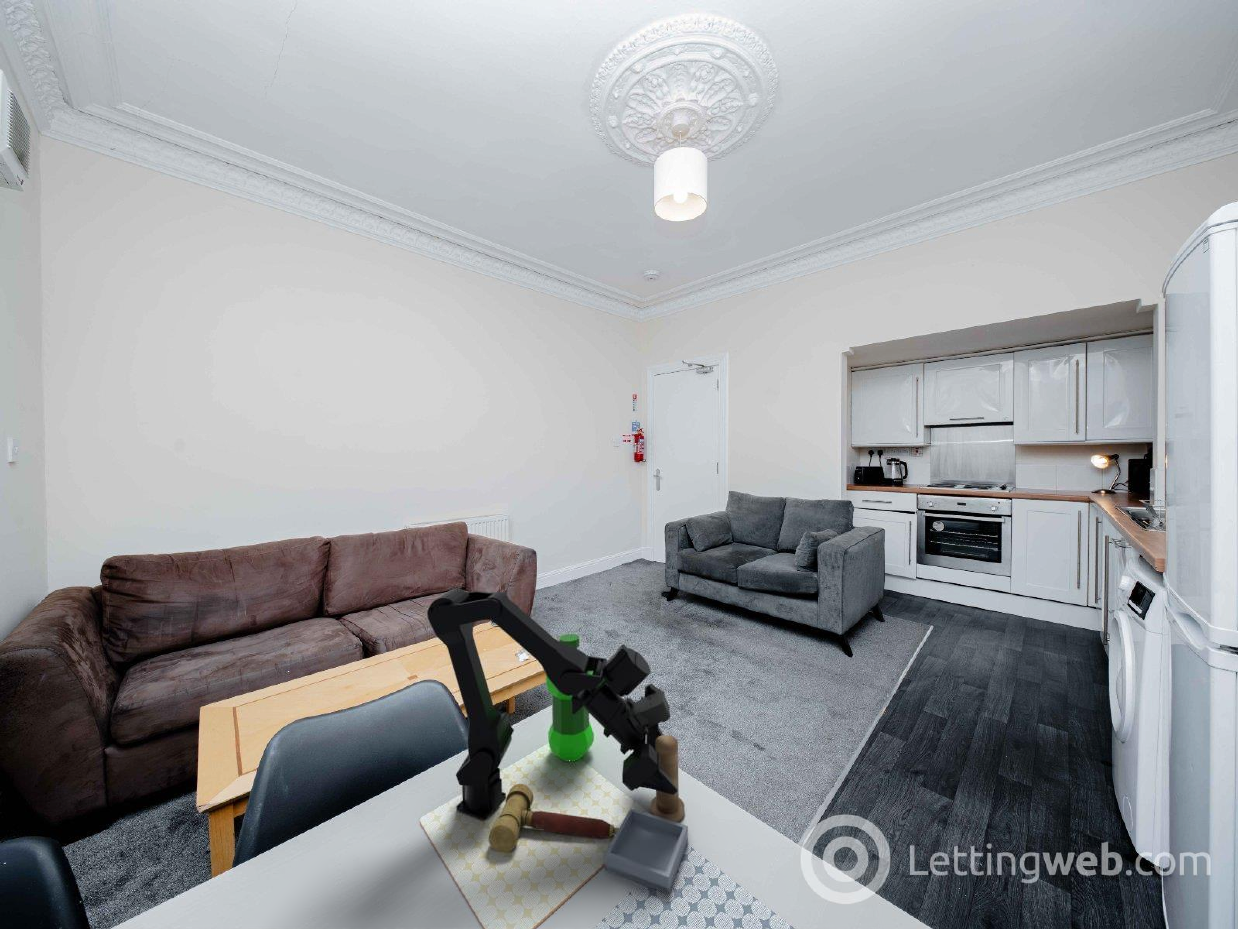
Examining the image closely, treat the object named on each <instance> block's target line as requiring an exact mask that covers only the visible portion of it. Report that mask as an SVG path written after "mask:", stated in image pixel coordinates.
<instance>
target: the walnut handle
mask: <svg viewBox="0 0 1238 929" xmlns="http://www.w3.org/2000/svg"><path fill="white" fill-rule="evenodd" d="M655 751H656V753H659V765H660V766H661V768H662V769H663V770H664V772H665V773H666V774H667V775H668V777H669V778H670V779H671V781H672V782H673V783H674V785H675V786H676V788H677V790H678V791H677V792H676V793H675V794H674V795H672V794H668V793H665V792H661V791H657V790H655V796H654V797H653V798H652V800H651V802H650V814H651V815H655V816H658V817H661V818H664V819H667V820H670V821H674V822H677V823H680V822H681V821H682V820H683V819H684V817H685V803H684V801H683V800H682V799H681V798H680V797H679V796H680V793H679V791H680V790H679V742H678V739H677V738H676V737H675V736H672V735H669V734H668V735H667V734H663V735H662V736H659V737H658V738H656V740H655Z"/></svg>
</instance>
